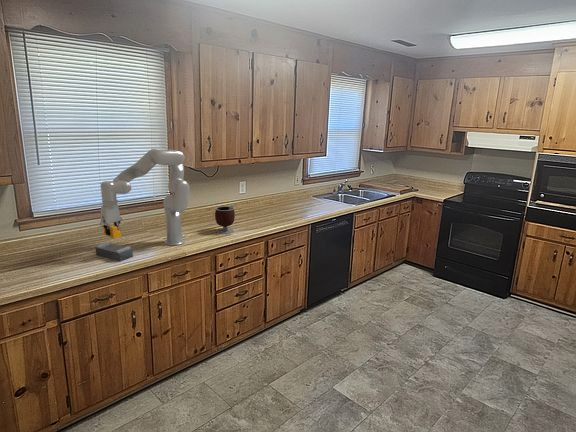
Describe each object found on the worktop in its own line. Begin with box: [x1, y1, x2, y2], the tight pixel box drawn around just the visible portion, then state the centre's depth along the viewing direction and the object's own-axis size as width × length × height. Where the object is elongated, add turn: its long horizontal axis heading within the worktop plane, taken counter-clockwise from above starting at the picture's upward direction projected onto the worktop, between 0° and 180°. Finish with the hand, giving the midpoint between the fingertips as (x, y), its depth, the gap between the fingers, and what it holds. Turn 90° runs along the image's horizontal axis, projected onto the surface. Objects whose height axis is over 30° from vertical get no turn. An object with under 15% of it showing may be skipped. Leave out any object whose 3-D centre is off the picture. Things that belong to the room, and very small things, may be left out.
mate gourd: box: [214, 203, 237, 235], centre depth 279 cm, size 16×14×20 cm
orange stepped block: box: [103, 223, 122, 240], centre depth 225 cm, size 12×4×6 cm, turn 49°
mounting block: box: [94, 241, 134, 263], centre depth 228 cm, size 9×20×6 cm, turn 64°
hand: (112, 233), depth 225 cm, fingers closed on orange stepped block, 4 cm apart
